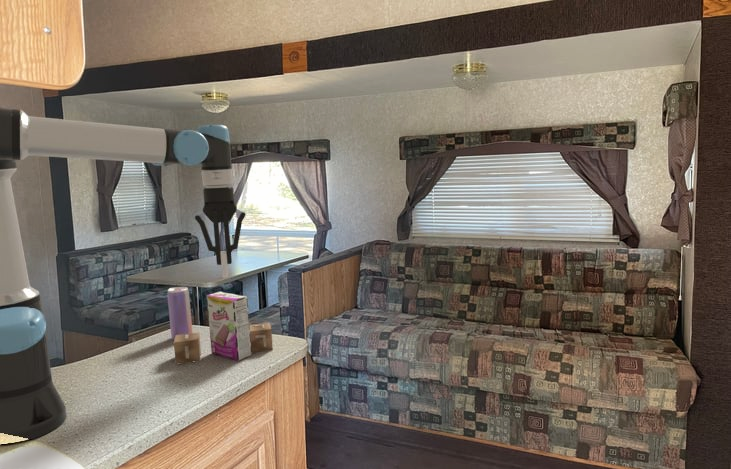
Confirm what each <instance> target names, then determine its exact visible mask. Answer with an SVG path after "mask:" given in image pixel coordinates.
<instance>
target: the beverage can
mask: <svg viewBox="0 0 731 469" xmlns="http://www.w3.org/2000/svg"><path fill="white" fill-rule="evenodd" d="M166 295H167V304H168V306H167V307H168V314H169V316H168V317H169V324H170V325H169V326H170V336H171V339H172V341H174V340H175V336H176V335H181V334H190V333H193V325H192V324H193V323H192V312H191V303H190V302H191V301H190V290H189V287H187V286H175V287H170V288H168V289H167V294H166Z"/></svg>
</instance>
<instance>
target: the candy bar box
mask: <svg viewBox="0 0 731 469" xmlns="http://www.w3.org/2000/svg"><path fill="white" fill-rule="evenodd" d="M206 305H207V317H208V325H209V326H208V327H209V328H208V329H209V335H210V337H209V338H210V349H211V350H210V351H211V353H212V354H214V355H218V356H221V357H224V358H229V359H231V360H234V361H238V362H240V361H242V360H245V359H246V358H249V357H251V356H252V353H253V352H251V341H250V328H249V325H250V318H249V303H248V296H245V295H240V294H235V293H231V292H230V293H229V292H225V291H216V292H213V293H210V294H207V295H206Z"/></svg>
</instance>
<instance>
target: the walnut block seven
mask: <svg viewBox="0 0 731 469" xmlns="http://www.w3.org/2000/svg"><path fill="white" fill-rule="evenodd" d="M249 328H250V341H251V353H257V352H265V351H266V352H267V351H273V350H274V347H273V335H272V334H273V333H272V332H273V331H272V326H271V323H270V322H263V323H254V324H253V323H252V324H249Z"/></svg>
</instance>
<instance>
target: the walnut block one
mask: <svg viewBox="0 0 731 469" xmlns="http://www.w3.org/2000/svg"><path fill="white" fill-rule="evenodd" d="M173 349H174V359H175V365H178V364H177V363H183V364H187V363H186V362H191V363H194V362H193V361H199V362H201V357H200V356H201V355H202V348H201V340H200V332H192V333H190V334H181V335H176V336H175V340H173Z"/></svg>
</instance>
